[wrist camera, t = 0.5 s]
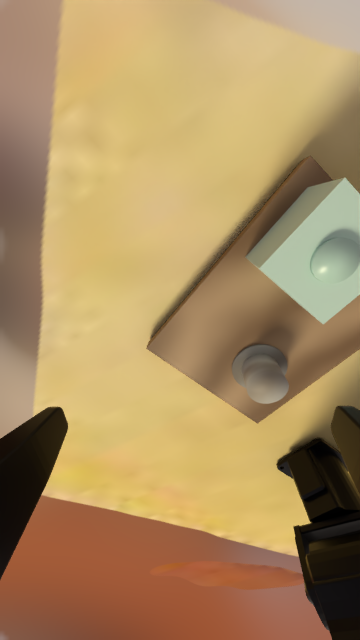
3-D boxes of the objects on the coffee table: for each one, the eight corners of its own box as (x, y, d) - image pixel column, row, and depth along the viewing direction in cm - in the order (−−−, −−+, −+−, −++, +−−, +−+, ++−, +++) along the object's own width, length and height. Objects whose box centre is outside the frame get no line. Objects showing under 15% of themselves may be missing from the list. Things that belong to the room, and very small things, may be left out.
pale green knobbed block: (361, 243, 16) (417, 253, 12) (297, 302, 18) (326, 327, 14) (307, 187, 15) (350, 176, 11) (245, 257, 17) (261, 269, 13)
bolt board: (421, 288, 18) (478, 307, 14) (254, 414, 24) (265, 448, 21) (302, 160, 15) (336, 142, 11) (148, 341, 21) (139, 367, 18)
